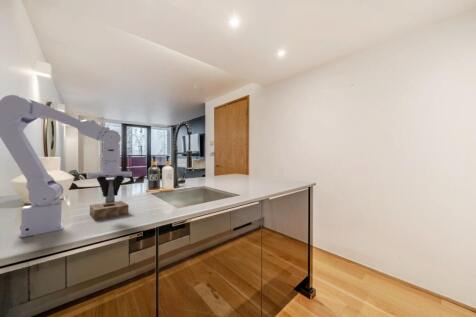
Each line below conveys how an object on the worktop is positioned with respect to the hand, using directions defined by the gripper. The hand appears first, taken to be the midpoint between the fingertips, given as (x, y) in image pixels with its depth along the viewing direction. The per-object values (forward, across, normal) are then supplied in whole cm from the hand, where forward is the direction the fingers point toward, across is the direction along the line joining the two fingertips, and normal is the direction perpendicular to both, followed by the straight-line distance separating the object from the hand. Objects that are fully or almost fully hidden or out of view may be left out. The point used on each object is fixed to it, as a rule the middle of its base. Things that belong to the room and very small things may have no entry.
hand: (110, 195), depth 72 cm
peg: (+3, 0, 0) cm, 3 cm away
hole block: (+10, +2, +10) cm, 14 cm away
